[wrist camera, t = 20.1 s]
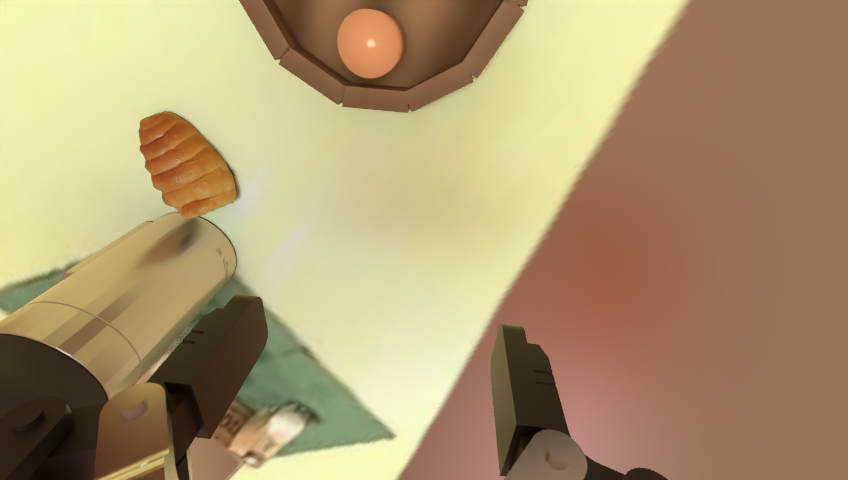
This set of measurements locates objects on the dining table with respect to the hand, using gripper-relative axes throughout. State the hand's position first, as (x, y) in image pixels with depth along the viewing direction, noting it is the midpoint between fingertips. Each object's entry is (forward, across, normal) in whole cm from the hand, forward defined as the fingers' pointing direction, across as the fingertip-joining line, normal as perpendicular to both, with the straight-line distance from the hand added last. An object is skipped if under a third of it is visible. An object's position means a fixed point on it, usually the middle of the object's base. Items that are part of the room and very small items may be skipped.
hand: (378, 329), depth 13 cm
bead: (+22, +4, -8) cm, 24 cm away
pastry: (+24, +22, +5) cm, 32 cm away
